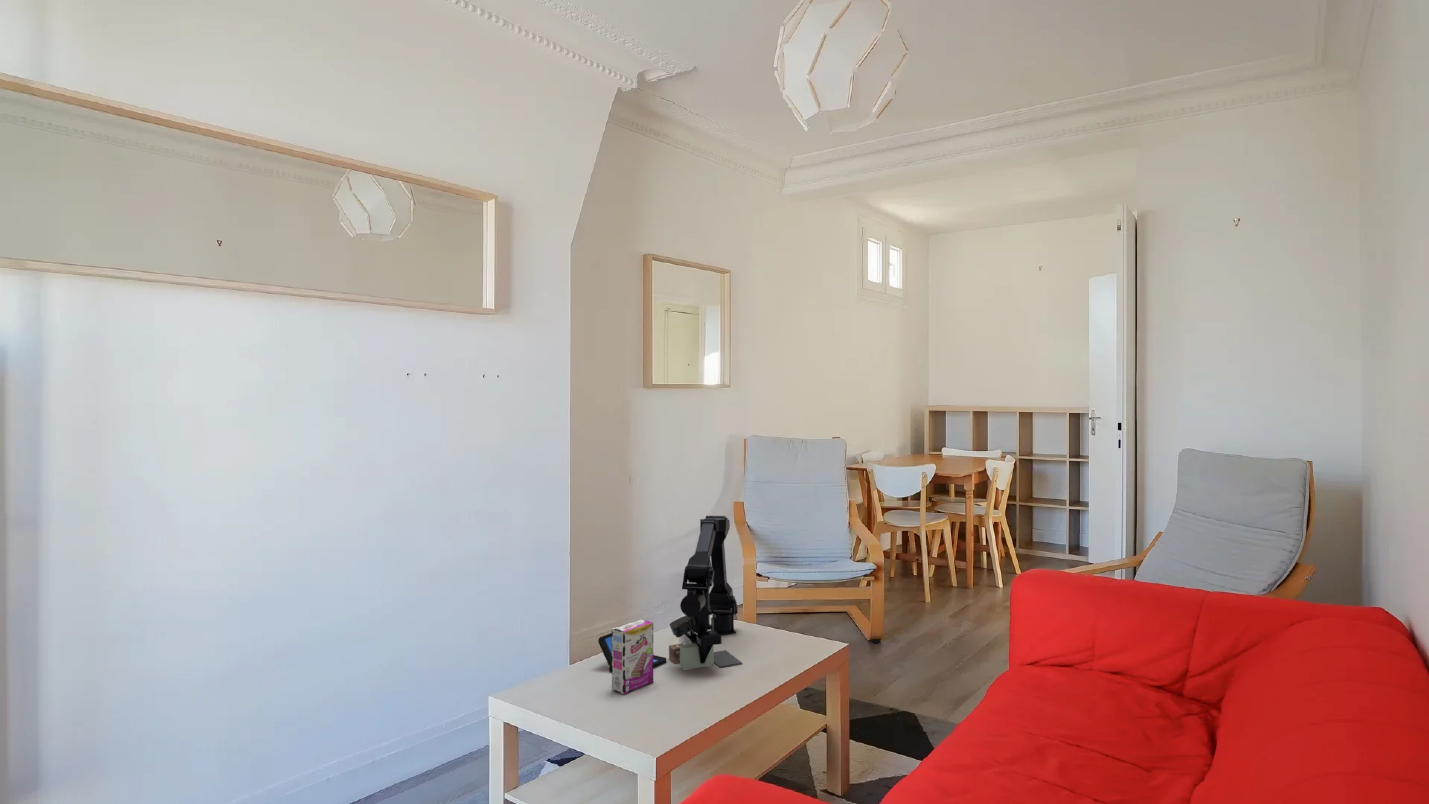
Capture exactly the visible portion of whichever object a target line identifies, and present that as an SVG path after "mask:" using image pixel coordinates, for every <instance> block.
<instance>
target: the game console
mask: <svg viewBox="0 0 1429 804" xmlns="http://www.w3.org/2000/svg"><path fill="white" fill-rule="evenodd" d="M597 642H598V645H599V647H600V649H601V651H602V654H603V656H604V658H605V660H606V663H607V665H608V671H609V673H612V632H610V633H607V634H604V635H602V636H600V637H599V638H598V640H597ZM667 660H668V659H667V658H666V657H664V656H660V655H655V654H653V670H654V669H655V668H657V667H659V666H662V665H663V664H665V663H667Z"/></svg>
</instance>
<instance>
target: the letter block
mask: <svg viewBox="0 0 1429 804" xmlns="http://www.w3.org/2000/svg"><path fill="white" fill-rule="evenodd" d="M680 645H683V644H680V643H676V644H671V645H668V659H669V660H670V662H671V663H672V664H680Z"/></svg>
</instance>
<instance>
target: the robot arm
mask: <svg viewBox="0 0 1429 804" xmlns="http://www.w3.org/2000/svg"><path fill="white" fill-rule="evenodd" d="M699 520H700V521H699V523H700V524H699V531H700V532H699V535H698V541H697V545H696V549H695V552H694V554H693V555H692V556H690V557H689V559H688V562H687V564H686V565H685V568H684V573H683V579H682V586H681V589H682V590H686V595H685V596H684V597H683V598H682V599H681V601H680V605H679V606H680V611H681V612H682V613H683V615H686V616H684V617H681V618H679V619H678V618H677V619H675V620H673V621H672V622H670V623H669V627H670V629H671V632H672V635H673V636H675V637H676V638H677V639H679V637H681V636H682V635H684V634H685V635H686V636H687V637H688V638H689V639H690V640H691V643H695V644H696V645H697V646H698V651H699V658H700V663H701V664H703V663H705V661H706V659H707V656H708V654H709V652H710V650H711V648H712V646H713V647H714V646H716V645H721V644H723V638H722V635H730V634H736V633H737V631H736V630H735V628H734V625H735V622H734V619H735V618H734V616H735V615H737V614H739V613H738V611H739V609H738V603H737V600H736V597H735V595H734V591H733V588H732V586H731V585H730V584H729V583H728V580H727V576H728V575H727V566H726V565H727V563H726V562H727V561H726V551H725V550H726V549H725V540H726V538H727V536H728V534H729V531H730V525H731V524H730V523H731V522H730V519H729V518H728V517H726V515H706V516H705V518H700V519H699ZM710 616H712V617H710Z"/></svg>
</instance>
